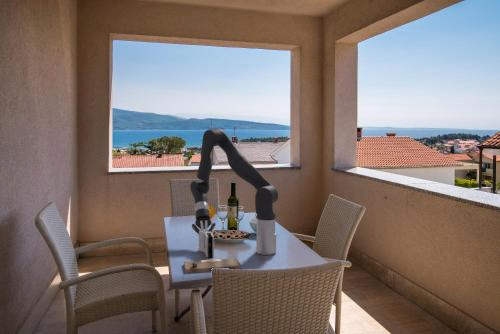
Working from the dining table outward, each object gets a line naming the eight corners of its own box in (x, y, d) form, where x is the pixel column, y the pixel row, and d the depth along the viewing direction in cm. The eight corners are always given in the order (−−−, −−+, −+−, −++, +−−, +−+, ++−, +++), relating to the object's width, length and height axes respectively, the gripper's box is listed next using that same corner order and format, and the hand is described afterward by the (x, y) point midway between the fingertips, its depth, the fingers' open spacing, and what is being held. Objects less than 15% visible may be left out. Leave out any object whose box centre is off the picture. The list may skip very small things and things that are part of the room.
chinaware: (266, 229, 233) (266, 217, 233) (278, 235, 220) (279, 222, 219) (244, 231, 227) (244, 219, 226) (256, 238, 213) (256, 224, 213)
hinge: (198, 250, 189) (198, 230, 189) (208, 249, 192) (208, 229, 191) (207, 258, 177) (207, 237, 176) (218, 257, 179) (218, 236, 179)
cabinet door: (236, 261, 174) (236, 254, 173) (241, 268, 164) (241, 261, 164) (183, 264, 168) (183, 258, 167) (185, 273, 158) (185, 265, 158)
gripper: (190, 208, 196) (192, 237, 185) (215, 207, 199) (218, 236, 189) (189, 216, 202) (191, 245, 191) (213, 215, 205) (217, 243, 194)
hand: (205, 240), depth 190 cm, fingers closed
